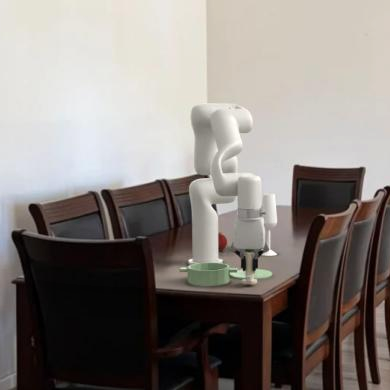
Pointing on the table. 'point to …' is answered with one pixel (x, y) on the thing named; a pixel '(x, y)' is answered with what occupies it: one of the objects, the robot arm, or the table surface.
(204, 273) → the pot
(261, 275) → the lid
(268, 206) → the champagne flute
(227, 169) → the robot arm
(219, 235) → the onion
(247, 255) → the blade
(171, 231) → the table surface
